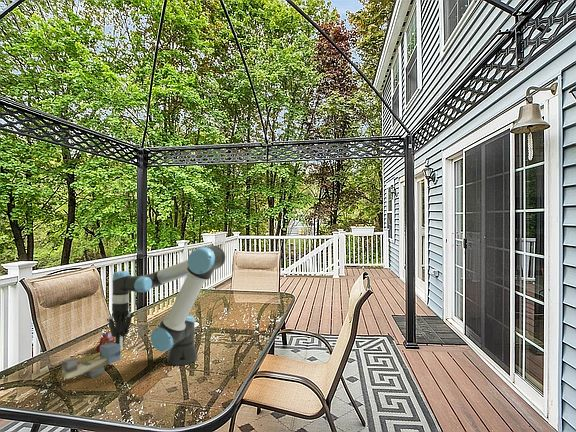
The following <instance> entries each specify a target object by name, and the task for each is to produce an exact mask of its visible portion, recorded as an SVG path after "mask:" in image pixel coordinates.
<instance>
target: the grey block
mask: <svg viewBox="0 0 576 432" xmlns="http://www.w3.org/2000/svg"><path fill="white" fill-rule="evenodd" d="M120 349H121V345H120V344H116V343H113V342H110V343H107V344H104V345H101V346H100V358H101V357H104V358H107V364H108V365H111V364H113V362H114V363H116V361H117V362H119V361H121V360H120V353H121V350H120ZM110 363H111V364H110Z"/></svg>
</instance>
